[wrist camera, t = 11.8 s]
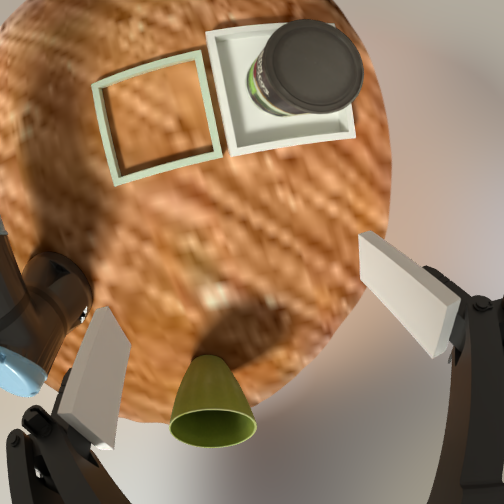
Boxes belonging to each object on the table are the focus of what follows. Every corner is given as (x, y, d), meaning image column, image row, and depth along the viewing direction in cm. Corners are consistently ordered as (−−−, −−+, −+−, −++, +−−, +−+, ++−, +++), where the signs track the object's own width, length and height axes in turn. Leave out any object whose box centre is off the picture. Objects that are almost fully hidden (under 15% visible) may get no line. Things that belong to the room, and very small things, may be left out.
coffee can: (243, 115, 36) (260, 107, 23) (247, 48, 31) (266, 11, 19) (313, 122, 37) (361, 122, 24) (317, 58, 33) (365, 33, 20)
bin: (229, 154, 38) (231, 157, 35) (205, 39, 30) (205, 31, 27) (345, 136, 39) (355, 137, 36) (325, 29, 31) (334, 23, 28)
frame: (117, 184, 37) (114, 186, 36) (95, 85, 30) (91, 84, 29) (222, 156, 38) (222, 157, 37) (201, 52, 31) (200, 49, 30)
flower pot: (258, 354, 55) (274, 418, 41) (223, 394, 59) (230, 452, 45) (191, 330, 50) (189, 399, 36) (163, 375, 54) (157, 437, 40)
